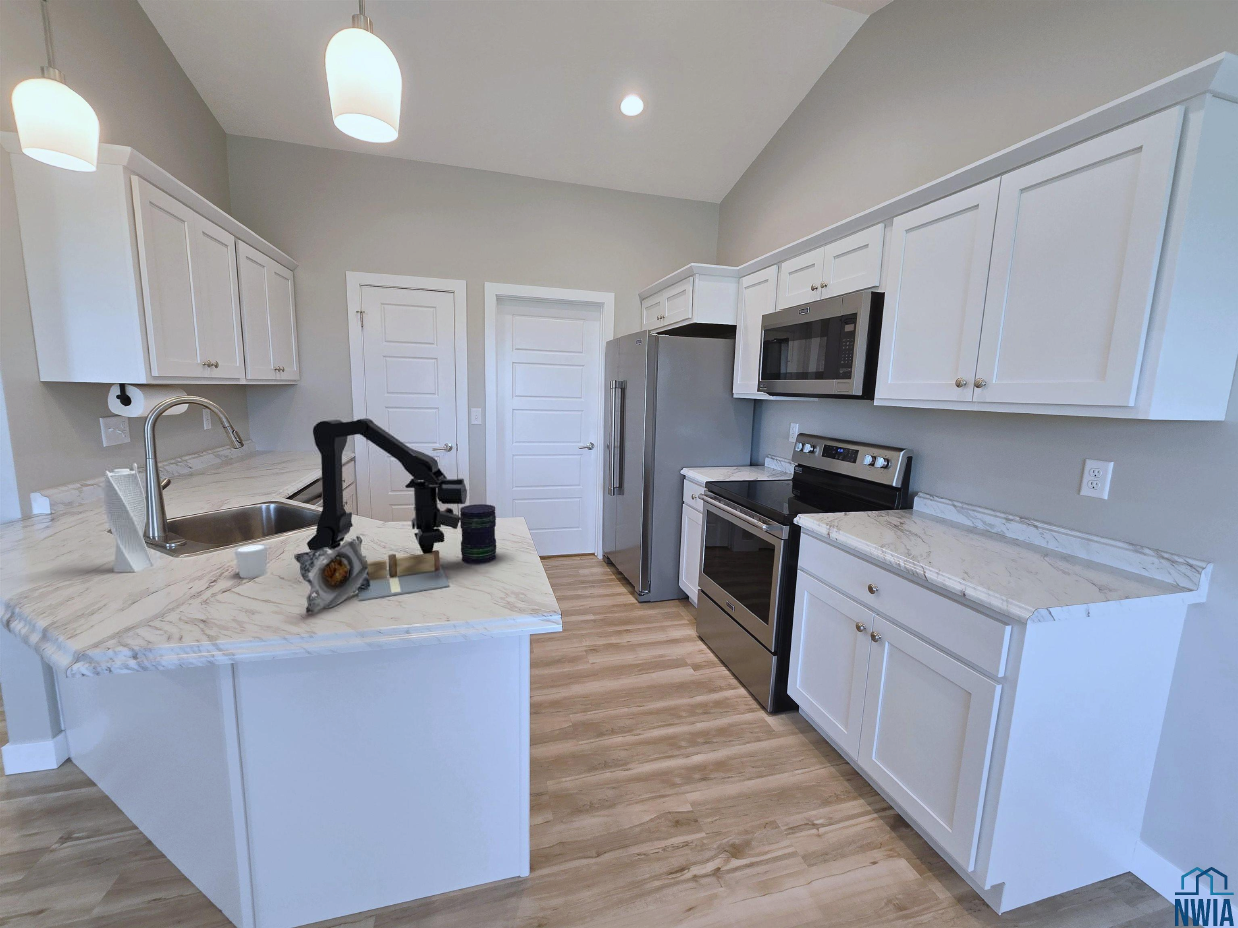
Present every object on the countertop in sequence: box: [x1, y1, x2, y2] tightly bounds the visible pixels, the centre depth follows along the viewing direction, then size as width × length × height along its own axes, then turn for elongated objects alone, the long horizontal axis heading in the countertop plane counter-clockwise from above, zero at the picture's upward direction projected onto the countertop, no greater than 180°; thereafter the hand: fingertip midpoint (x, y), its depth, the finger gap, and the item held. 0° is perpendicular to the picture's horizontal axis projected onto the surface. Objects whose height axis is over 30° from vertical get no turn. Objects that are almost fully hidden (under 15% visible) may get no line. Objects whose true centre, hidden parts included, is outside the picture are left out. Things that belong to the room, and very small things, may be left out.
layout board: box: [357, 565, 451, 602], centre depth 127 cm, size 20×18×1 cm
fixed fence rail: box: [365, 559, 388, 581], centre depth 126 cm, size 6×2×5 cm, turn 118°
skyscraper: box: [103, 462, 154, 573], centre depth 130 cm, size 8×8×28 cm
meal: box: [293, 535, 370, 614], centre depth 114 cm, size 15×4×13 cm, turn 161°
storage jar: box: [459, 503, 497, 565], centre depth 144 cm, size 10×10×15 cm
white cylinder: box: [234, 543, 268, 579], centre depth 129 cm, size 7×7×7 cm
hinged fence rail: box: [387, 549, 441, 577], centre depth 131 cm, size 12×2×5 cm, turn 117°
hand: (428, 559), depth 136 cm, fingers closed
